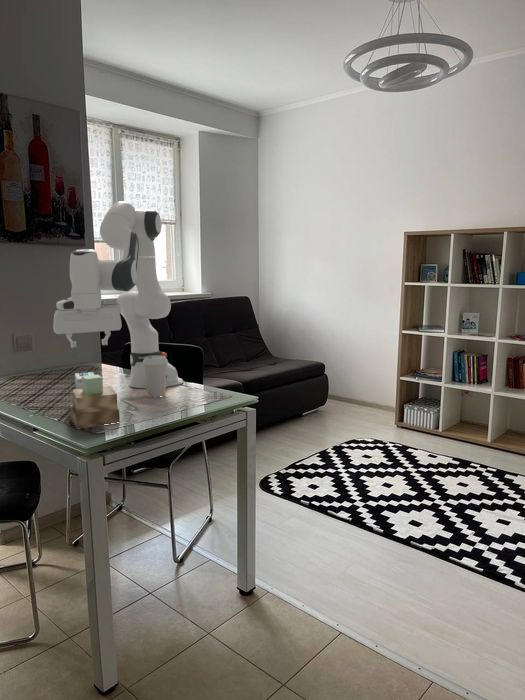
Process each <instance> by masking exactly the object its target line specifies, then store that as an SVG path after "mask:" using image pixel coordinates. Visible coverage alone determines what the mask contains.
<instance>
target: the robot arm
mask: <svg viewBox="0 0 525 700" xmlns="http://www.w3.org/2000/svg"><path fill="white" fill-rule="evenodd" d="M162 225H163V224H162V220H161V216H160V214H159V212H158V211H156V210H153V209H140V208H139V209H138V208H135V207H134V206H133V205H132V204H131V203H129V202H128V201H122V200H121V201H116V202H114V203H113V204H112V205H111V206H110V208H109V209H108V210H107V212H106V213H105V215H104V217H103V219H102V221H101V223H100V226H99V234H100V237H101V240H102V241H103V242H104V243H105V244H106V245H107V246H108V247H109V248H112V249H113V250H118V251H121V252H123V256H122V258H120V259H114V260H110V259H108V260H102V259H101V260H100V259H99V258H98V253H97V251H96V250H95V249H91V248H82V249H76V250H73V251H72V252H71V253H70V258H69V280H70V283H71V290H70V295H71V296H70V297H68V298H64V299H62V300H59V301H57V302H55V303H56V305H55V306H56V310H55V312H54V315H53V320H52V321H53V323H52V324H53V325H52V326H53V327H52V328H53V329H52V330H53V331H54V333H55V334H56V335H65V336H66V338H67V340H68V341H69V342H70V348H71V349H74V348H77V347H78V345H77V341H73V339H72V337H73V334H82V333H96V332H97V333H98V332H104V334H105V336H104V338H102V339H101V345H102V346H108V340H109V338H110V336H111V335H112V334H111V331H112V332H114V331H120V330H122V329H121V328H122V318H121V315H122V317H123V318H124V320H125V322H126V324H127V327H128V331H129V334H130V335H129V337H130V346H131V347H130V349H131V350H130V351H131V352H130V366H131V370H130V377H129V382H128V386H129V387H130V388H136V389H147V385H146V377H145V369H144V364H143V360H144V358H145V357H147V356H165V357H166V358H167V357H168V354H167V352H165V351H164V352H163V351H160V350H159V332H158V331H157V330H156V329H155V328H154V327H153V325H152V324H151V321H150V319H151V320H154V319H155V320H158V319H162V318H163V319H164V318H166V317H167V316H169V313H170V312H171V307H172V303H171V300H170V297H169V296H168V295H167V294H166V293H165V292H164V291H163V289H162V288H161V285H160V283H159V280H158V275H157V267H156V266H157V263H156V247H155V242H154V241H155V239H156V238H157V237H158V236H159V235H160V234H161V232H162ZM134 287H136V289H137V290H132V289H133V288H134ZM102 291H117V292H118V291H119V292H122V293H121V294H119V295H118V297H117V299H116V300H113V301H112V300H111V301H102ZM182 383H183V384H184V380H183V378H180V377H179V376H178V371H177V369H176V367H175V366H173V365H172V364H171V363H169V362H168V363H167V369H166V386H165V388H167V387H173V386H178V385H179V386H180V385H182Z"/></svg>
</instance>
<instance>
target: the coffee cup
mask: <svg viewBox="0 0 525 700" xmlns="http://www.w3.org/2000/svg"><path fill="white" fill-rule="evenodd" d="M167 363H169V361H168V359H167V356H166V357H165V356H147V357H145V358H144V360H143V364H144V369H145V377H146V385H147V388H146V392H147V397H149V398H152V397H158V398H161V397H160V396H163V397H165V396H166V387H165V386H166V369H167ZM164 395H165V396H164Z"/></svg>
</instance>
